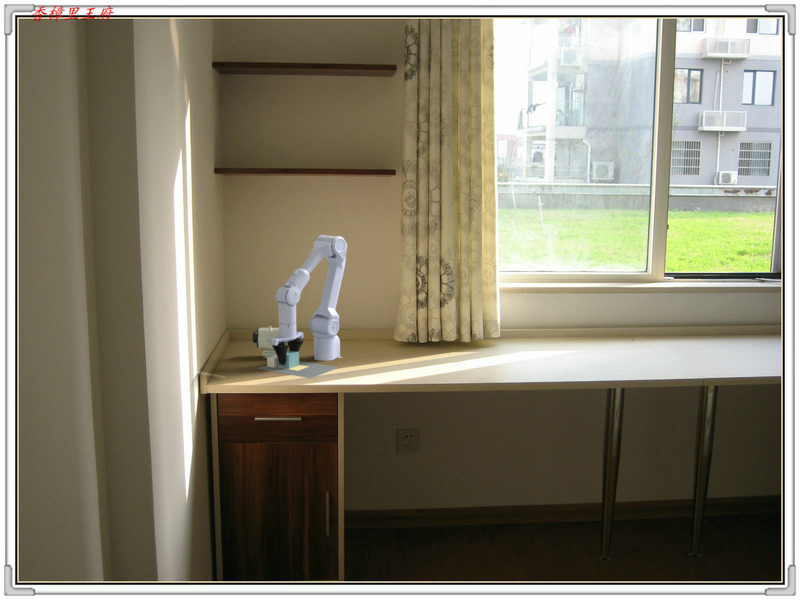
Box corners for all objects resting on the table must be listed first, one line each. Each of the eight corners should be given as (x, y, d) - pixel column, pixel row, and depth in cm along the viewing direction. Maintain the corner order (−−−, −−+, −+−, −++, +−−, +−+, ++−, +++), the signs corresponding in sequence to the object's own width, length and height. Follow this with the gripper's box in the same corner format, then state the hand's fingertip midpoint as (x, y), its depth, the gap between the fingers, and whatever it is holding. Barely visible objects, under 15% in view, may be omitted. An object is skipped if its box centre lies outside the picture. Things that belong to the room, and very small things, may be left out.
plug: (288, 363, 237) (288, 350, 236) (299, 365, 235) (299, 352, 234) (278, 366, 232) (278, 353, 232) (289, 368, 230) (288, 355, 229)
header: (282, 361, 240) (282, 352, 239) (296, 364, 237) (296, 355, 236) (267, 366, 233) (267, 357, 232) (281, 368, 230) (281, 359, 230)
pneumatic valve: (255, 357, 249) (254, 324, 247) (287, 357, 249) (287, 324, 248) (252, 361, 243) (251, 327, 242) (286, 361, 244) (285, 327, 242)
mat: (287, 361, 244) (287, 358, 244) (339, 369, 233) (339, 367, 233) (257, 370, 230) (257, 368, 230) (310, 380, 219) (310, 377, 219)
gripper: (291, 318, 240) (292, 356, 242) (263, 324, 227) (264, 365, 229) (308, 320, 236) (308, 359, 238) (280, 327, 224) (281, 368, 226)
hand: (288, 362), depth 233 cm, fingers closed on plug, 5 cm apart
